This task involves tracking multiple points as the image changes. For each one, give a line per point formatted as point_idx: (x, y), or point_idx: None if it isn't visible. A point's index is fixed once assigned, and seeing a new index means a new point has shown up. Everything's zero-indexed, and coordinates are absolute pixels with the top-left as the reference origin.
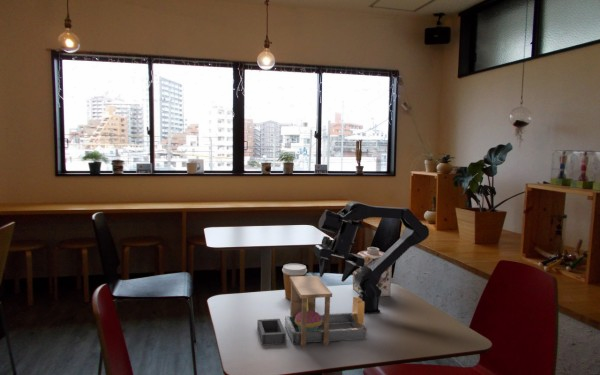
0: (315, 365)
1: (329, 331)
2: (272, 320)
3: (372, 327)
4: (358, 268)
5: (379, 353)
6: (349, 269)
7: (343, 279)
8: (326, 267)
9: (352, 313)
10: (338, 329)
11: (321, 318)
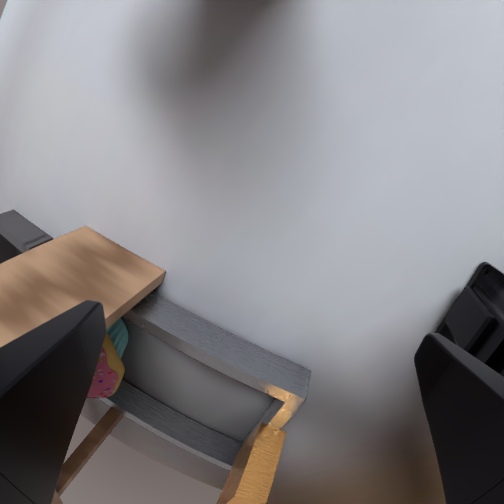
0: (86, 415)
1: (127, 416)
2: (14, 245)
3: (338, 426)
4: None
5: None
6: (470, 502)
7: (423, 377)
8: (56, 477)
9: (256, 437)
10: (156, 429)
11: (107, 396)
